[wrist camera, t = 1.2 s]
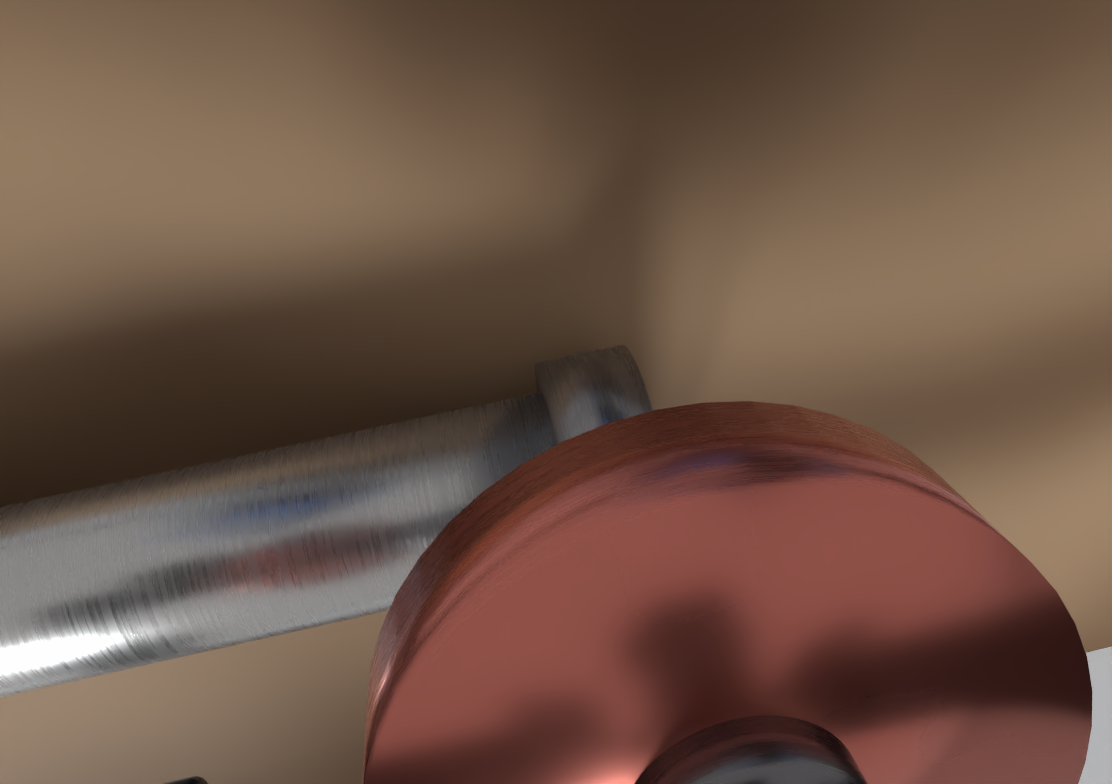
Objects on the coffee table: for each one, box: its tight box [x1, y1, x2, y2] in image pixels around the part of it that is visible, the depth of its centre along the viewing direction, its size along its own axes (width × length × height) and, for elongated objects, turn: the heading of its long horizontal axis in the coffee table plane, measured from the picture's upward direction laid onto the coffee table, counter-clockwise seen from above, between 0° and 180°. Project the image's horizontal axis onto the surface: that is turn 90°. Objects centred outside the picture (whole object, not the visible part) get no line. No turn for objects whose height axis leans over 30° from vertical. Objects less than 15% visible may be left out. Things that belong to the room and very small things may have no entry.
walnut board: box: [0, 0, 1112, 784], centre depth 14 cm, size 14×28×1 cm, turn 99°
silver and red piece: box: [0, 345, 1092, 784], centre depth 10 cm, size 6×19×8 cm, turn 99°
